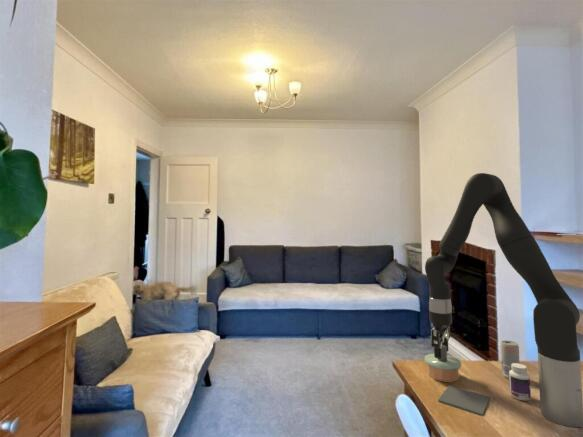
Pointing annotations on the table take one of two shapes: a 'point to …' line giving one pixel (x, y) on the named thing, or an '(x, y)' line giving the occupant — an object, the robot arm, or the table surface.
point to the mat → (465, 399)
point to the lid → (443, 360)
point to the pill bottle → (519, 382)
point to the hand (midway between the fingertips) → (441, 354)
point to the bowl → (443, 374)
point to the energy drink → (509, 356)
